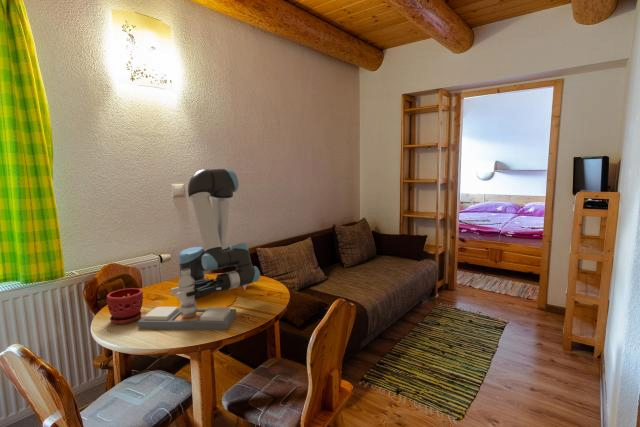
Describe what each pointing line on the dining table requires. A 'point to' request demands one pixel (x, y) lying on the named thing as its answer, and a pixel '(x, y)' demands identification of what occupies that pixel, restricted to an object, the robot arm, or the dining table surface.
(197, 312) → the orange key
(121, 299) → the plant pot
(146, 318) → the pale key
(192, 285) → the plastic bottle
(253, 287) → the dining table surface
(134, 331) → the dining table surface
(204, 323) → the keypad frame
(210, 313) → the pale key
